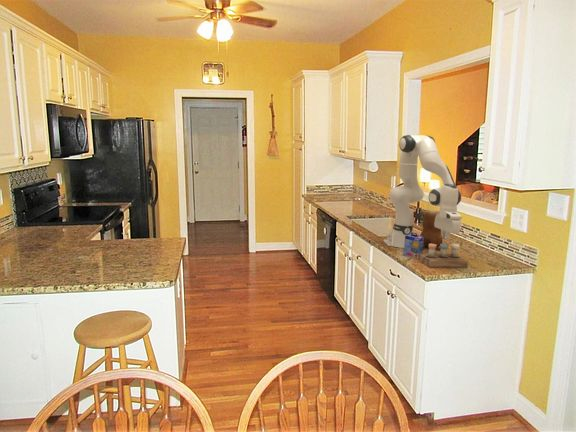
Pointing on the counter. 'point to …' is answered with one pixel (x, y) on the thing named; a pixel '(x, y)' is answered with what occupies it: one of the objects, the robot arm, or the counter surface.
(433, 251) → the plunger terracotta
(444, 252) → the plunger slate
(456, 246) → the plunger cream
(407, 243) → the ink cartridge box
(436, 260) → the wooden board with holes
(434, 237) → the brown rounded block
